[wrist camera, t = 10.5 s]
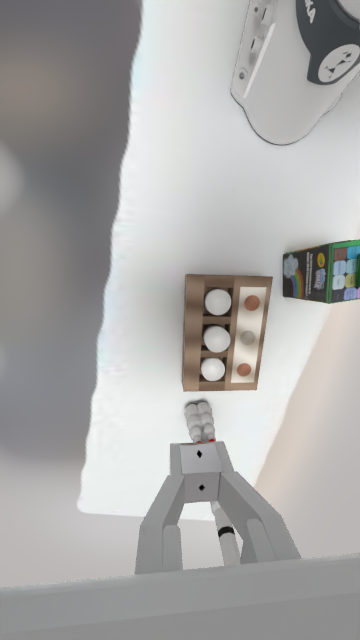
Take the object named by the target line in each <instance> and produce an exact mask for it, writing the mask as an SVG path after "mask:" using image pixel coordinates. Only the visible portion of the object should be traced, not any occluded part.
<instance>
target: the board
mask: <svg viewBox="0 0 360 640" xmlns="http://www.w3.org/2000/svg"><path fill="white" fill-rule="evenodd" d="M272 278H273V277H267V276H231V275H195V274H186V275H185V302H184V334H183V366H182V384H183V391H184V392H185V391H232V390H257V384H258V377H259V370H260V363H261V356H262V349H263V341H264V334H265V327H266V320H267V313H268V306H269V299H270V292H271V285H272ZM211 289H220V290H224V291H226V292H227V293H228V294H229V295H230V298H231V306H230V308H229V310H228V311H227V312H226V313H224V314H222V315H214V314H212V313H210V312H209V311H208V310H207V309H206V308H205V307H204V305H203V303H204V295H205V294H206V292H208V291H209V290H211ZM213 324H217V325H220V326H221V327H223V328H224V329H225V330H226V331H227V332H228V333H229V335H230V344H229V346H228V348H227V349H226V350H224V351H222V352H218V353H216V352H212V351H210V350H209V349H208V348H207V346H206V344H205V343H204V341H203V338H202V335H203V331H204V330H205V328H206V327H208V326H210V325H213ZM202 357H219V358H220V360H221V361H222V363H223V364H224V366H225V373H224V375H223V376H222V377H221V378H220V379H219V380H216V381H209V380H207V379H205V378H204V376H203V374H202V372H201V369H200V360H201V358H202Z"/></svg>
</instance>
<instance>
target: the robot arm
mask: <svg viewBox="0 0 360 640" xmlns="http://www.w3.org/2000/svg"><path fill="white" fill-rule="evenodd" d="M359 71H360V0H250V4H249V9H248V13H247V18H246V22H245V27H244V31H243V35H242V40H241V44H240V49H239V53H238V58H237V62H236V66H235V71H234V75H233V80H232V84H231V93H232V96H233V97H234V98H235V100H236V101H237V102H238V103H239V104H240V105H241V106H242V107H243V108H244V110H245V112H246V114H247V117H248V119H249V121H250V123H251V125H252V127H253V128H254V130H255V131H256V132H257V133H258V134H259V135H260V136H261V137H262V138H263V139H265V140H267V141H269V142H271V143H274V144H281V145H283V144H290V143H293V142H296V141H298V140H300V139H301V138H303V137H304V136H305V135H307V134H308V133H309V132H310V131H311V129H312V128H313V127H314V126H315V124H316V123H317V121H318V120H319V119H320V117H321V116H322V115H323V114H325V113H326V112H328V111H329V110H331V109H332V108H333V107H334V106H335V105H336V104H337V103H338V101H339V100H340V99H341V96H342V91H343V90H344V89H345V88H346V86H347V85H348V84H349V83H350V82H351V80H352V79H353V78H354V77H355V75H356V74H357V73H358V72H359ZM240 77H241V78H242V79H240ZM207 501H218V503H219V505H220V506H221V508H222V509H223V511H224V512H225V514H226V515H227V517H228V518H229V520H230V521H231V523H232V524H233V526H234V527H235V528H236V530H237V532H238V533H239V535H240V536H241V538H242V539H243V547H242V554H241V560H240V564H239V565H229V566H219V567H209V568H198V569H190V570H189V569H188V570H183V569H182V553H181V535H180V528H179V527H178V526H177V523H178V520H179V517H180V515H181V512H182V509H183V506H184V503H193V502H207ZM0 640H360V553H353V554H342V555H333V556H322V557H312V558H301V556H300V554H299V552H298V550H297V548H296V546H295V544H294V541H293V539H292V537H291V535H290V533H289V531H288V529H287V527H286V525H285V523H284V521H283V519H282V517H281V515H280V514H279V513H278V512H277V511H276V510H275V509H274V508H273V507H272V506H271V505H270V504H269V503H268V502H267V501H266V500H265V499H264V498H263V497H262V496H261V495H260V494H259V493H258V492H257V491H256V490H255V489H254V488H253V487H252V486H251V485H250V484H249V483H248V482H247V481H246V480H245V479H244V478H243V477H242V476H241V475H240V474H239V473H238V472H234V469H233V466H232V463H231V461H230V458H229V455H228V452H227V449H226V446H225V444H224V442H223V441H221V442H200V443H173V444H170V475H168V476H167V478H166V480H165V482H164V483H163V485H162V487H161V489H160V491H159V493H158V494H157V496H156V498H155V500H154V502H153V503H152V505H151V507H150V509H149V511H148V513H147V514H146V516H145V518H144V520H143V522H142V524H141V525H140V531H139V541H138V549H137V558H136V567H135V575H127V576H117V577H108V578H97V579H87V580H76V581H66V582H56V583H47V584H46V583H45V584H35V585H25V586H15V587H5V588H0Z"/></svg>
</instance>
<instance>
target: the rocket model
mask: <svg viewBox="0 0 360 640" xmlns="http://www.w3.org/2000/svg"><path fill="white" fill-rule="evenodd" d="M185 416H186V420H187V427H188V429H189V435H190V437H191V439H192V440H193V443H200V442H216V439H215V436H214V435H215V429H214V426H213V424H214V421H213V417H212V409H211V407H210V406H209V404H207V403H206V402H200V403H199V404H198V405H195V404H190V405H188V406H187V408H186V409H185ZM210 504H211V509H212V513H213V514H214V516H215V521H216V525H217V530H218V536H219V541H220V545H221V550H222V556H223V560H224V566H229V565H239V564H240V560H241V557H240V553H239V549H238V545H237V542H236V538H235V533H234V530H233V526H232V523H231V521H230V520H229V518H228V517H227V515H226V514H225V512H224V511H223V509H222V508H221V506H220V505H219V503H218V501H210Z"/></svg>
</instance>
